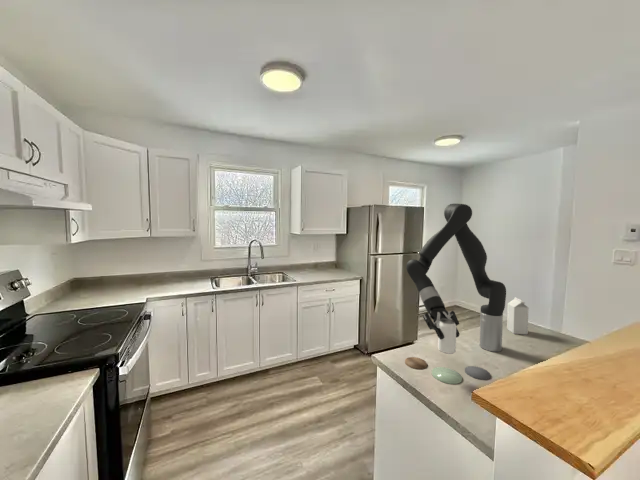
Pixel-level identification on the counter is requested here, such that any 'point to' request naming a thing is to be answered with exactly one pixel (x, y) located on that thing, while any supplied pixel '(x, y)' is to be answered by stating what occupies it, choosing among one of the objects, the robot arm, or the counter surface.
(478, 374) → the charcoal coaster
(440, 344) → the can
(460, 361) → the counter surface
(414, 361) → the walnut coaster
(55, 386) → the counter surface
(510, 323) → the milk carton
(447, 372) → the sage coaster
